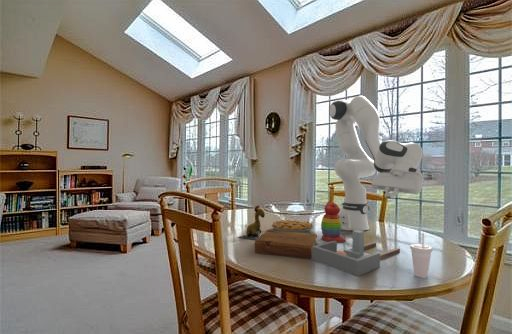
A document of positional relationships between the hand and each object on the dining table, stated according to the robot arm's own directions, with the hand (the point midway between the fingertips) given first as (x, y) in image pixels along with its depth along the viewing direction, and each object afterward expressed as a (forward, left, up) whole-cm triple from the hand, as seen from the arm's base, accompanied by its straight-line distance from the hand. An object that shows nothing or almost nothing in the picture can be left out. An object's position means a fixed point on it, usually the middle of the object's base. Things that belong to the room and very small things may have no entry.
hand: (388, 197), depth 120 cm
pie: (-47, -10, -23) cm, 53 cm away
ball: (-1, -30, -20) cm, 36 cm away
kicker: (-1, -19, -22) cm, 29 cm away
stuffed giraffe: (-54, -30, -23) cm, 66 cm away
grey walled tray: (-1, -27, -22) cm, 35 cm away
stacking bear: (-24, -6, -22) cm, 34 cm away
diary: (-27, -33, -23) cm, 48 cm away
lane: (-1, -10, -22) cm, 24 cm away
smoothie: (+21, -17, -22) cm, 35 cm away
